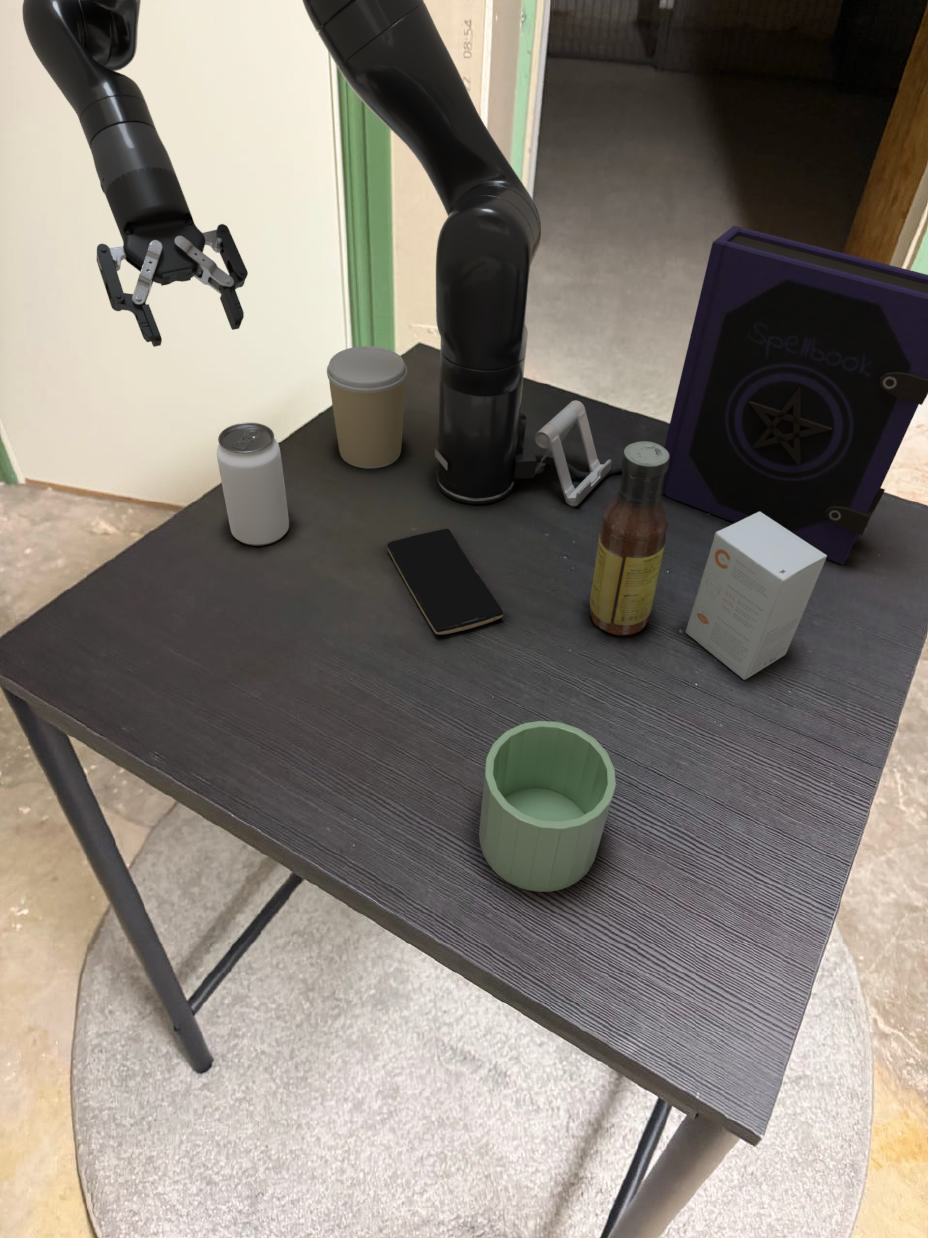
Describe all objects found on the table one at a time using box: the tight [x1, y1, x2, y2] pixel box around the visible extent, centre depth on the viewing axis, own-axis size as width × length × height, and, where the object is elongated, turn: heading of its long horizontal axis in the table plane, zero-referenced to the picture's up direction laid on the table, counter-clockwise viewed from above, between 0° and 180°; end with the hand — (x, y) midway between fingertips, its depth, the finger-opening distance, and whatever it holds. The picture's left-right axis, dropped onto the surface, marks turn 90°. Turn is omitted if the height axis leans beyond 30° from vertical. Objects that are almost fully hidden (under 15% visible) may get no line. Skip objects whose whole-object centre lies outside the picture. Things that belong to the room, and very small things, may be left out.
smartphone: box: [386, 528, 504, 636], centre depth 91 cm, size 7×1×15 cm
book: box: [662, 225, 928, 566], centre depth 92 cm, size 24×6×30 cm, turn 56°
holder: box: [478, 720, 617, 893], centre depth 67 cm, size 10×10×9 cm
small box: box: [685, 512, 827, 681], centre depth 83 cm, size 8×6×13 cm
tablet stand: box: [533, 400, 613, 508], centre depth 103 cm, size 9×8×8 cm
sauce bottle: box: [589, 440, 670, 637], centre depth 82 cm, size 7×6×20 cm
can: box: [216, 422, 290, 547], centre depth 93 cm, size 6×6×12 cm
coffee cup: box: [326, 345, 408, 469], centre depth 105 cm, size 9×9×12 cm
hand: (198, 334), depth 91 cm, fingers open, 8 cm apart
